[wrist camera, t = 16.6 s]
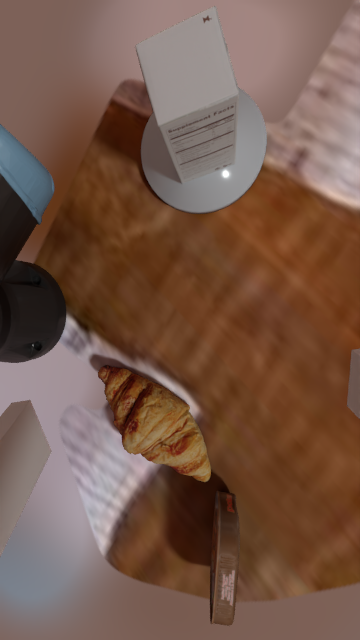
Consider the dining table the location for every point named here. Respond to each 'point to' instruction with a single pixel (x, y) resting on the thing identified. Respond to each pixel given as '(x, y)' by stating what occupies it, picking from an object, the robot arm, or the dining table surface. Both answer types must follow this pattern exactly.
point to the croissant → (155, 423)
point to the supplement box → (193, 94)
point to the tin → (224, 559)
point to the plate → (215, 186)
